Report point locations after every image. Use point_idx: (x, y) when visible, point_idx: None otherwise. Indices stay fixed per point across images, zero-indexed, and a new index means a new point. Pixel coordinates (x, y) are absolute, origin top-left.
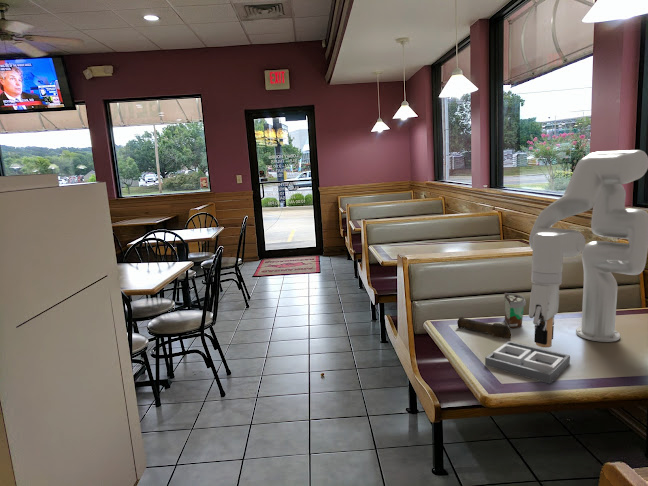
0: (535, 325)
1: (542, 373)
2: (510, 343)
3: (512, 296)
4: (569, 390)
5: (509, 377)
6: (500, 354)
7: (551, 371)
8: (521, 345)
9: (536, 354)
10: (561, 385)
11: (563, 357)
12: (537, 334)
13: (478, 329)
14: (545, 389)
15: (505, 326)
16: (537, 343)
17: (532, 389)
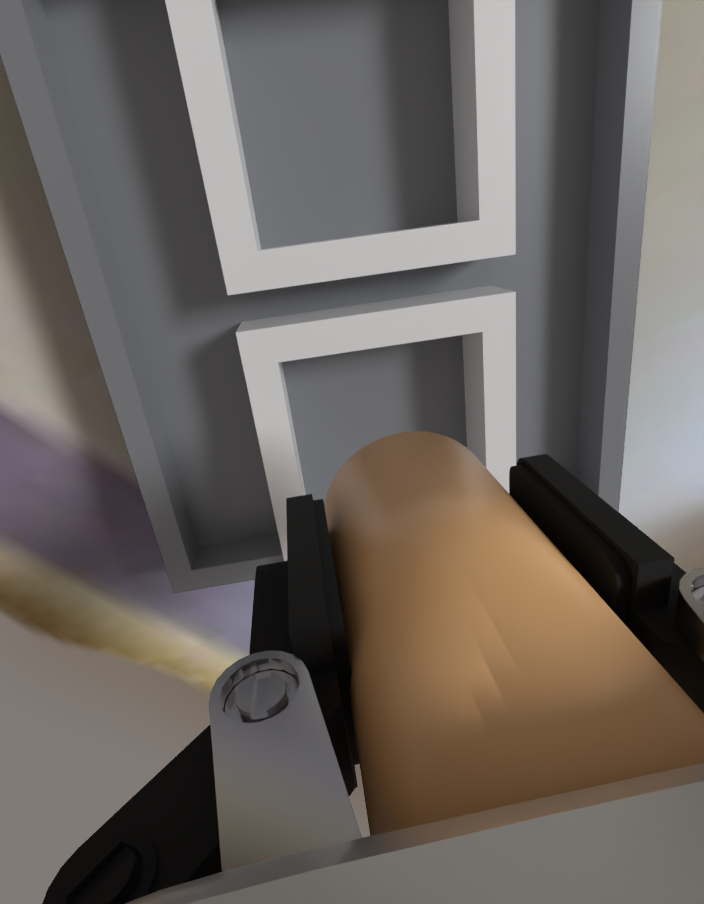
0: (71, 872)
1: (158, 543)
2: None
3: None
4: (203, 652)
5: (18, 313)
6: (174, 35)
7: (238, 570)
8: (624, 70)
9: (471, 330)
10: (226, 600)
11: (587, 475)
12: (255, 631)
13: None
14: (90, 573)
15: None
16: (334, 494)
17: (12, 526)
